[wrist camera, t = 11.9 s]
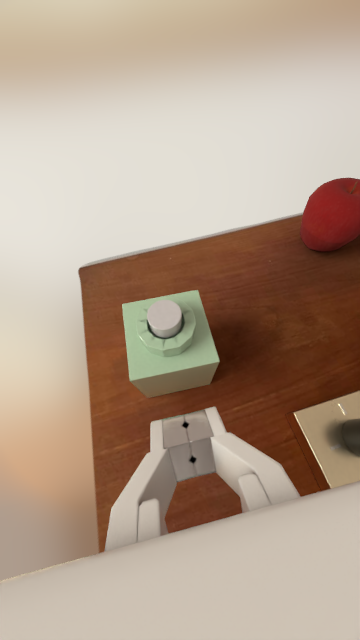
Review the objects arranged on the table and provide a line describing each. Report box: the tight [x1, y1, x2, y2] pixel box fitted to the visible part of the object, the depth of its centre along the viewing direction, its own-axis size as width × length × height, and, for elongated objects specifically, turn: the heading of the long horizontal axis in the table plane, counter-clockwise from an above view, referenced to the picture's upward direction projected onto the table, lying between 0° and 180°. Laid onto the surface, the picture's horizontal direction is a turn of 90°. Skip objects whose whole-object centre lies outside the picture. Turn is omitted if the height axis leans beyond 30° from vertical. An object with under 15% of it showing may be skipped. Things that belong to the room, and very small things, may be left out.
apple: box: [300, 178, 360, 252], centre depth 42 cm, size 12×12×13 cm
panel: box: [285, 390, 360, 491], centre depth 29 cm, size 10×13×3 cm
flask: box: [122, 290, 220, 398], centre depth 30 cm, size 10×10×14 cm
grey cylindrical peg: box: [147, 300, 182, 338], centre depth 23 cm, size 4×4×2 cm
